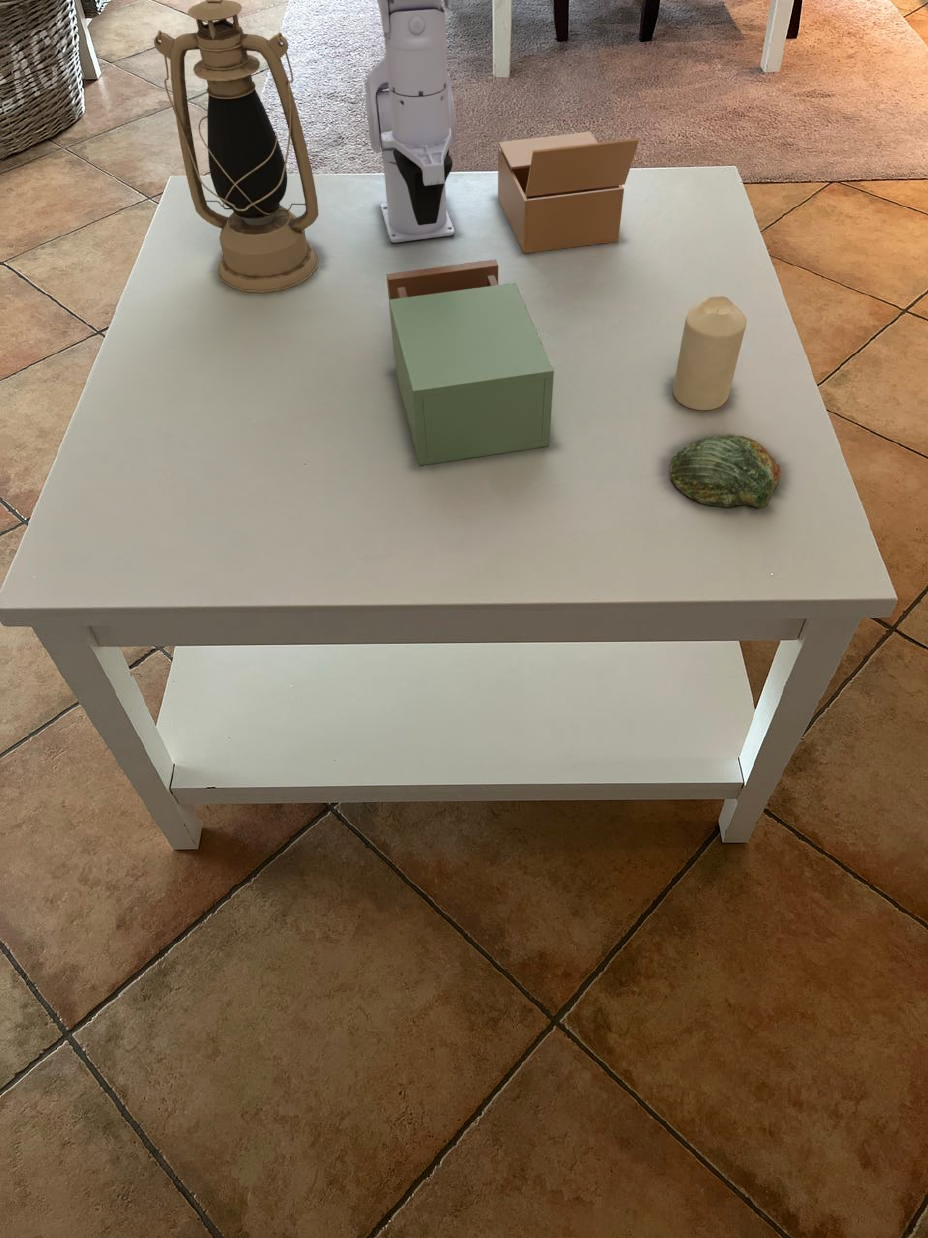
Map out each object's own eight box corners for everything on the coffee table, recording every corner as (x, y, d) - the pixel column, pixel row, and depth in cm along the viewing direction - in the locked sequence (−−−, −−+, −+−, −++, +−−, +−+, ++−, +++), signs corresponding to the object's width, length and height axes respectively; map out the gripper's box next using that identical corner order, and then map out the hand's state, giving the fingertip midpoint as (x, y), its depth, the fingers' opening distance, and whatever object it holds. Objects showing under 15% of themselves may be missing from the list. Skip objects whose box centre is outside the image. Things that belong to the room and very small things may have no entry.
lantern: (194, 289, 106) (108, -12, 82) (223, 236, 113) (152, -54, 90) (316, 295, 104) (265, -10, 81) (337, 241, 112) (296, -53, 88)
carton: (618, 241, 110) (624, 182, 105) (523, 253, 109) (524, 194, 103) (586, 187, 119) (590, 130, 113) (497, 198, 117) (498, 141, 112)
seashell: (747, 393, 84) (815, 459, 79) (741, 427, 88) (805, 493, 82) (653, 430, 83) (714, 500, 77) (650, 463, 86) (708, 533, 80)
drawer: (386, 310, 101) (380, 252, 95) (487, 296, 102) (487, 238, 96) (412, 409, 90) (407, 350, 84) (525, 392, 91) (527, 333, 85)
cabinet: (395, 373, 95) (388, 299, 88) (514, 357, 96) (515, 282, 89) (419, 466, 86) (412, 391, 79) (549, 446, 87) (554, 370, 80)
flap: (624, 182, 105) (624, 184, 105) (525, 194, 103) (525, 196, 103) (638, 137, 98) (639, 140, 98) (532, 150, 97) (533, 152, 97)
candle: (727, 413, 89) (749, 324, 82) (670, 407, 90) (687, 318, 82) (729, 379, 93) (750, 290, 85) (674, 374, 93) (690, 285, 86)
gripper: (367, 60, 92) (380, 194, 103) (387, 120, 83) (399, 260, 94) (435, 53, 93) (441, 186, 103) (463, 112, 84) (467, 251, 94)
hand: (426, 221), depth 99 cm, fingers closed
